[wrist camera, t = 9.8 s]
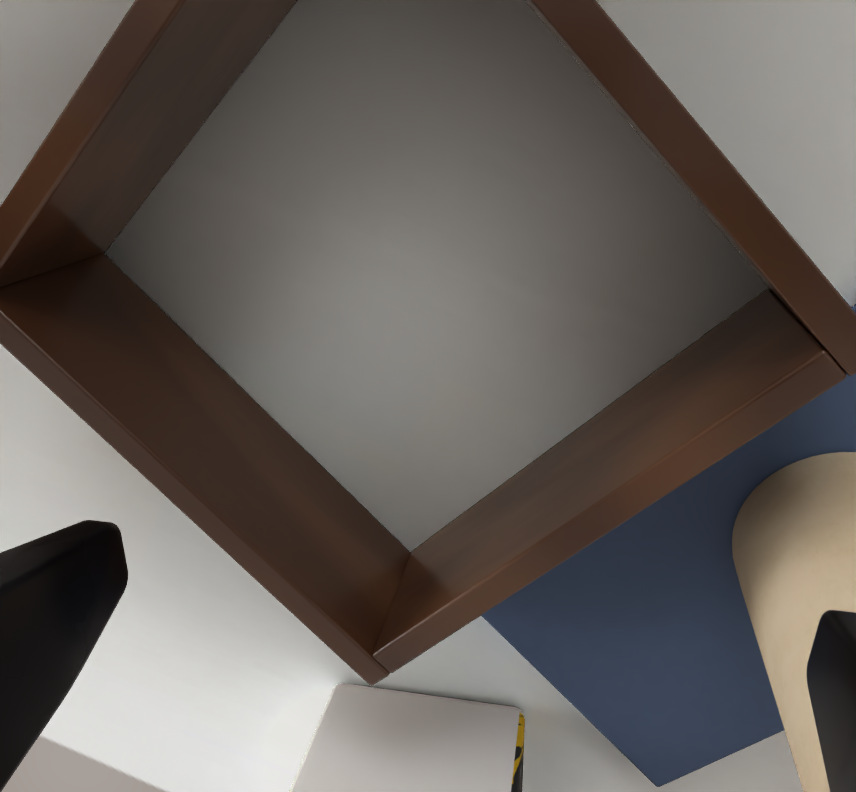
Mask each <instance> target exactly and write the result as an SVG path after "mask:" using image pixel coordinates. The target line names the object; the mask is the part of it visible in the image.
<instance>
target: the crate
mask: <svg viewBox="0 0 856 792" xmlns="http://www.w3.org/2000/svg"><path fill="white" fill-rule="evenodd" d="M296 1H297V0H135V1H134V3H133V5H132V6H131V8H130V9H129V11H128V12H127V14H126V15H125V17H124V18H123V20H122V21H121V23H120V24H119V26H118V28H117V29H116V31H115V32H114V34H113V35H112V37H111V38H110V40H109V41H108V43H107V44H106V46H105V47H104V49H103V51H102V52H101V54H100V55H99V57H98V58H97V60H96V61H95V63H94V64H93V66H92V67H91V69H90V70H89V72H88V74H87V75H86V77H85V78H84V80H83V81H82V83H81V84H80V86H79V87H78V89H77V90H76V92H75V93H74V95H73V97H72V98H71V100H70V101H69V103H68V104H67V106H66V107H65V109H64V110H63V112H62V113H61V115H60V116H59V118H58V120H57V121H56V123H55V124H54V126H53V127H52V129H51V130H50V132H49V133H48V135H47V136H46V138H45V139H44V141H43V143H42V144H41V146H40V147H39V149H38V150H37V152H36V153H35V155H34V156H33V158H32V159H31V161H30V162H29V164H28V166H27V167H26V169H25V170H24V172H23V173H22V175H21V176H20V178H19V179H18V181H17V182H16V184H15V185H14V187H13V188H12V190H11V192H10V193H9V195H8V196H7V198H6V199H5V201H4V202H3V204H2V205H1V207H0V344H1V345H3V346H4V347H5V348H6V349H7V350H8V351H9V352H10V353H11V354H12V355H13V356H14V357H16V358H17V359H18V360H19V361H20V362H21V363H22V364H23V365H24V366H25V367H26V368H27V369H29V370H30V371H31V372H32V373H33V374H34V375H35V376H36V377H37V378H38V379H39V380H40V381H42V382H43V383H44V384H45V385H46V386H47V387H48V388H49V389H50V390H51V391H52V392H53V393H54V394H56V395H57V396H58V397H59V398H60V399H61V400H62V401H63V402H64V403H65V404H66V405H67V406H69V407H70V408H71V409H72V410H73V411H74V412H75V413H76V414H77V415H78V416H79V417H80V418H82V419H83V420H84V421H85V422H86V423H87V424H88V425H89V426H90V427H91V428H92V429H93V430H95V431H96V432H97V433H98V434H99V435H100V436H101V437H102V438H103V439H104V440H105V441H106V442H107V443H109V444H110V445H111V446H112V447H113V448H114V449H115V450H116V451H117V452H118V453H119V454H120V455H122V456H123V457H124V458H125V459H126V460H127V461H128V462H129V463H130V464H131V465H132V466H133V467H135V468H136V469H137V470H138V471H139V472H140V473H141V474H142V475H143V476H144V477H145V478H146V479H148V480H149V481H150V482H151V483H152V484H153V485H154V486H155V487H156V488H157V489H158V490H159V491H160V492H162V493H163V494H164V495H165V496H166V497H167V498H168V499H169V500H170V501H171V502H172V503H173V504H175V505H176V506H177V507H178V508H179V509H180V510H181V511H182V512H183V513H184V514H185V515H186V516H188V517H189V518H190V519H191V520H192V521H193V522H194V523H195V524H196V525H197V526H198V527H199V528H201V529H202V530H203V531H204V532H205V533H206V534H207V535H208V536H209V537H210V538H211V539H212V540H213V541H215V542H216V543H217V544H218V545H219V546H220V547H221V548H222V549H223V550H224V551H225V552H226V553H228V554H229V555H230V556H231V557H232V558H233V559H234V560H235V561H236V562H237V563H238V564H239V565H241V566H242V567H243V568H244V569H245V570H246V571H247V572H248V573H249V574H250V575H251V576H252V577H254V578H255V579H256V580H257V581H258V582H259V583H260V584H261V585H262V586H263V587H264V588H265V589H266V590H268V591H269V592H270V593H271V594H272V595H273V596H274V597H275V598H276V599H277V600H278V601H279V602H281V603H282V604H283V605H284V606H285V607H286V608H287V609H288V610H289V611H290V612H291V613H292V614H294V615H295V616H296V617H297V618H298V619H299V620H300V621H301V622H302V623H303V624H304V625H305V626H307V627H308V628H309V629H310V630H311V631H312V632H313V633H314V634H315V635H316V636H317V637H318V638H319V639H321V640H322V641H323V642H324V643H325V644H326V645H327V646H328V647H329V648H330V649H331V650H332V651H334V652H335V653H336V654H337V655H338V656H339V657H340V658H341V659H342V660H343V661H344V662H345V663H347V664H348V665H349V666H350V667H351V668H352V669H353V670H354V671H355V672H356V673H357V674H358V675H360V676H361V677H362V678H363V679H364V680H365V681H366V682H367V683H368V684H369V685H371V686H372V685H374V684H376V683H378V682H379V681H381V680H382V679H384V678H385V677H387V676H388V675H389V674H390V673H393V672H394V671H396V670H398V669H399V668H401V667H402V666H404V665H405V664H407V663H408V662H410V661H411V660H413V659H415V658H416V657H418V656H419V655H421V654H422V653H424V652H425V651H427V650H428V649H430V648H431V647H433V646H435V645H436V644H438V643H439V642H441V641H442V640H444V639H445V638H447V637H448V636H450V635H451V634H453V633H455V632H456V631H458V630H459V629H461V628H462V627H464V626H465V625H467V624H468V623H470V622H471V621H473V620H475V619H476V618H478V617H479V616H481V615H482V614H484V613H485V612H487V611H488V610H490V609H491V608H493V607H495V606H496V605H498V604H499V603H501V602H502V601H504V600H505V599H507V598H508V597H510V596H512V595H513V594H515V593H516V592H518V591H519V590H521V589H522V588H524V587H525V586H527V585H528V584H530V583H532V582H533V581H535V580H536V579H538V578H539V577H541V576H542V575H544V574H545V573H547V572H548V571H550V570H552V569H553V568H555V567H556V566H558V565H559V564H561V563H562V562H564V561H565V560H567V559H568V558H570V557H572V556H573V555H575V554H576V553H578V552H579V551H581V550H582V549H584V548H585V547H587V546H589V545H590V544H592V543H593V542H595V541H596V540H598V539H599V538H601V537H602V536H604V535H605V534H607V533H609V532H610V531H612V530H613V529H615V528H616V527H618V526H619V525H621V524H622V523H624V522H625V521H627V520H629V519H630V518H632V517H633V516H635V515H636V514H638V513H639V512H641V511H642V510H644V509H645V508H647V507H649V506H650V505H652V504H653V503H655V502H656V501H658V500H659V499H661V498H662V497H664V496H666V495H667V494H669V493H670V492H672V491H673V490H675V489H676V488H678V487H679V486H681V485H682V484H684V483H686V482H687V481H689V480H690V479H692V478H693V477H695V476H696V475H698V474H699V473H701V472H702V471H704V470H706V469H707V468H709V467H710V466H712V465H713V464H715V463H716V462H718V461H719V460H721V459H722V458H724V457H726V456H727V455H729V454H730V453H732V452H733V451H735V450H736V449H738V448H739V447H741V446H742V445H744V444H746V443H747V442H749V441H750V440H752V439H753V438H755V437H756V436H758V435H759V434H761V433H763V432H764V431H766V430H767V429H769V428H770V427H772V426H773V425H775V424H776V423H778V422H779V421H781V420H783V419H784V418H786V417H787V416H789V415H790V414H792V413H793V412H795V411H796V410H798V409H799V408H801V407H803V406H804V405H806V404H807V403H809V402H810V401H812V400H813V399H815V398H816V397H818V396H819V395H821V394H823V393H824V392H826V391H827V390H829V389H830V388H832V387H833V386H835V385H836V384H838V383H840V382H841V381H843V380H844V379H845V378H846V377H847V376H846V373H847V375H849V376H852V375H854V374H855V373H856V313H855V312H854V311H853V309H852V308H851V307H850V306H849V305H848V303H847V302H846V301H845V300H844V299H843V297H842V296H841V295H840V294H839V293H838V291H837V290H836V289H835V288H834V287H833V285H832V284H831V283H830V282H829V281H828V279H827V278H826V277H825V276H824V275H823V273H822V272H821V271H820V270H819V269H818V267H817V266H816V265H815V264H814V262H813V261H812V260H811V259H810V258H809V256H808V255H807V254H806V253H805V252H804V250H803V249H802V248H801V247H800V246H799V244H798V243H797V242H796V241H795V240H794V238H793V237H792V236H791V235H790V234H789V232H788V231H787V230H786V229H785V228H784V226H783V225H782V224H781V223H780V222H779V220H778V219H777V218H776V217H775V216H774V214H773V213H772V212H771V211H770V210H769V208H768V207H767V206H766V205H765V204H764V202H763V201H762V200H761V199H760V198H759V196H758V195H757V194H756V193H755V192H754V190H753V189H752V188H751V187H750V185H749V184H748V183H747V182H746V181H745V179H744V178H743V177H742V176H741V175H740V173H739V172H738V171H737V170H736V169H735V167H734V166H733V165H732V164H731V163H730V161H729V160H728V159H727V158H726V157H725V155H724V154H723V153H722V152H721V151H720V149H719V148H718V147H717V146H716V145H715V143H714V142H713V141H712V140H711V139H710V137H709V136H708V135H707V134H706V133H705V131H704V130H703V129H702V128H701V127H700V125H699V124H698V123H697V122H696V121H695V119H694V118H693V117H692V116H691V115H690V113H689V112H688V111H687V110H686V108H685V107H684V106H683V105H682V104H681V102H680V101H679V100H678V99H677V98H676V96H675V95H674V94H673V93H672V92H671V90H670V89H669V88H668V87H667V86H666V84H665V83H664V82H663V81H662V80H661V78H660V77H659V76H658V75H657V74H656V72H655V71H654V70H653V69H652V68H651V66H650V65H649V64H648V63H647V62H646V60H645V59H644V58H643V57H642V56H641V54H640V53H639V52H638V51H637V50H636V48H635V47H634V46H633V45H632V44H631V42H630V41H629V40H628V39H627V37H626V36H625V35H624V34H623V33H622V31H621V30H620V29H619V28H618V27H617V25H616V24H615V23H614V22H613V21H612V19H611V18H610V17H609V16H608V15H607V13H606V12H605V11H604V10H603V9H602V7H601V6H600V5H599V4H598V3H597V1H596V0H525V1H526V2H527V3H528V5H529V6H530V7H531V8H532V9H533V10H534V12H535V13H536V14H537V15H538V16H539V18H540V19H541V20H542V21H543V22H544V23H545V25H546V26H547V27H548V28H549V29H550V30H551V32H552V33H553V34H554V35H555V36H556V38H557V39H558V40H559V41H560V42H561V43H562V45H563V46H564V47H565V48H566V49H567V50H568V52H569V53H570V54H571V55H572V56H573V58H574V59H575V60H576V61H577V62H578V63H579V65H580V66H581V67H582V68H583V69H584V71H585V72H586V73H587V74H588V75H589V76H590V78H591V79H592V80H593V81H594V82H595V83H596V85H597V86H598V87H599V88H600V89H601V91H602V92H603V93H604V94H605V95H606V96H607V98H608V99H609V100H610V101H611V102H612V103H613V105H614V106H615V107H616V108H617V109H618V111H619V112H620V113H621V114H622V115H623V116H624V118H625V119H626V120H627V121H628V122H629V123H630V125H631V126H632V127H633V128H634V129H635V131H636V132H637V133H638V134H639V135H640V136H641V138H642V139H643V140H644V141H645V142H646V143H647V145H648V146H649V147H650V148H651V149H652V151H653V152H654V153H655V154H656V155H657V156H658V158H659V159H660V160H661V161H662V162H663V164H664V165H665V166H666V167H667V168H668V169H669V171H670V172H671V173H672V174H673V175H674V176H675V178H676V179H677V180H678V181H679V182H680V184H681V185H682V186H683V187H684V188H685V189H686V191H687V192H688V193H689V194H690V195H691V196H692V198H693V199H694V200H695V201H696V202H697V204H698V205H699V206H700V207H701V208H702V209H703V211H704V212H705V213H706V214H707V215H708V216H709V218H710V219H711V220H712V221H713V222H714V224H715V225H716V226H717V227H718V228H719V229H720V231H721V232H722V233H723V234H724V235H725V236H726V238H727V239H728V240H729V241H730V242H731V244H732V245H733V246H734V247H735V248H736V249H737V251H738V252H739V253H740V254H741V255H742V256H743V258H744V259H745V260H746V261H747V262H748V264H749V265H750V266H751V267H752V268H753V269H754V271H755V272H756V273H757V274H758V275H759V277H760V278H761V279H762V280H763V281H764V282H765V284H766V285H767V286H768V287H769V288H770V289H771V290H770V289H767V290H765V291H764V292H762V293H761V294H759V295H758V296H757V297H755V298H754V299H753V300H751V301H750V302H749V303H747V304H746V305H745V306H743V307H742V308H740V309H739V310H738V311H736V312H735V313H734V314H732V315H731V316H730V317H728V318H727V319H726V320H724V321H723V322H722V323H720V324H719V325H717V326H716V327H715V328H713V329H712V330H711V331H709V332H708V333H707V334H705V335H704V336H703V337H701V338H700V339H699V340H697V341H696V342H694V343H693V344H692V345H690V346H689V347H688V348H686V349H685V350H684V351H682V352H681V353H680V354H678V355H677V356H675V357H674V358H673V359H671V360H670V361H669V362H667V363H666V364H665V365H663V366H662V367H661V368H659V369H658V370H657V371H655V372H654V373H652V374H651V375H650V376H648V377H647V378H646V379H644V380H643V381H642V382H640V383H639V384H638V385H636V386H635V387H633V388H632V389H631V390H629V391H628V392H627V393H625V394H624V395H623V396H621V397H620V398H619V399H617V400H616V401H615V402H613V403H612V404H610V405H609V406H608V407H606V408H605V409H604V410H602V411H601V412H600V413H598V414H597V415H596V416H594V417H593V418H592V419H590V420H589V421H587V422H586V423H585V424H583V425H582V426H581V427H579V428H578V429H577V430H575V431H574V432H573V433H571V434H570V435H568V436H567V437H566V438H564V439H563V440H562V441H560V442H559V443H558V444H556V445H555V446H554V447H552V448H551V449H550V450H548V451H547V452H545V453H544V454H543V455H541V456H540V457H539V458H537V459H536V460H535V461H533V462H532V463H531V464H529V465H528V466H526V467H525V468H524V469H522V470H521V471H520V472H518V473H517V474H516V475H514V476H513V477H512V478H510V479H509V480H508V481H506V482H505V483H503V484H502V485H501V486H499V487H498V488H497V489H495V490H494V491H493V492H491V493H490V494H489V495H487V496H486V497H485V498H483V499H482V500H480V501H479V502H478V503H476V504H475V505H474V506H472V507H471V508H470V509H468V510H467V511H466V512H464V513H463V514H461V515H460V516H459V517H457V518H456V519H455V520H453V521H452V522H451V523H449V524H448V525H447V526H445V527H444V528H443V529H441V530H440V531H438V532H437V533H436V534H434V535H433V536H432V537H430V538H429V539H428V540H426V541H425V542H424V543H422V544H421V545H419V546H418V547H417V548H415V549H414V550H413V551H412V552H411V553H410V552H409V551H408V550H407V549H406V548H405V547H404V546H403V545H402V544H401V543H400V542H399V541H398V540H397V539H396V538H395V537H394V536H393V535H392V534H391V533H390V532H389V531H388V530H387V529H386V528H385V527H384V526H383V525H382V524H381V523H380V522H379V521H378V520H377V519H375V518H374V517H373V516H372V515H371V514H370V513H369V512H368V511H367V510H366V509H365V508H364V507H363V506H362V505H361V504H360V503H359V502H358V501H357V500H356V499H355V498H354V497H353V496H352V495H351V494H350V493H349V492H348V491H347V490H346V489H345V488H344V487H343V486H342V485H341V484H340V483H339V482H338V481H336V480H335V479H334V478H333V477H332V476H331V475H330V474H329V473H328V472H327V471H326V470H325V469H324V468H323V467H322V466H321V465H320V464H319V463H318V462H317V461H316V460H315V459H314V458H313V457H312V456H311V455H310V454H309V453H308V452H307V451H306V450H305V449H304V448H303V447H302V446H301V445H300V444H299V443H298V442H296V441H295V440H294V439H293V438H292V437H291V436H290V435H289V434H288V433H287V432H286V431H285V430H284V429H283V428H282V427H281V426H280V425H279V424H278V423H277V422H276V421H275V420H274V419H273V418H272V417H271V416H270V415H269V414H268V413H267V412H266V411H265V410H264V409H263V408H262V407H261V406H260V405H259V404H257V403H256V402H255V401H254V400H253V399H252V398H251V397H250V396H249V395H248V394H247V393H246V392H245V391H244V390H243V389H242V388H241V387H240V386H239V385H238V384H237V383H236V382H235V381H234V380H233V379H232V378H231V377H230V376H229V375H228V374H227V373H226V372H225V371H224V370H223V369H222V368H221V367H220V366H219V365H217V364H216V363H215V362H214V361H213V360H212V359H211V358H210V357H209V356H208V355H207V354H206V353H205V352H204V351H203V350H202V349H201V348H200V347H199V346H198V345H197V344H196V343H195V342H194V341H193V340H192V339H191V338H190V337H189V336H188V335H187V334H186V333H185V332H184V331H183V330H182V329H181V328H180V327H178V326H177V325H176V324H175V323H174V322H173V321H172V320H171V319H170V318H169V317H168V316H167V315H166V314H165V313H164V312H163V311H162V310H161V309H160V308H159V307H158V306H157V305H156V304H155V303H154V302H153V301H152V300H151V299H150V298H149V297H148V296H147V295H146V294H145V293H144V292H143V291H142V290H141V289H140V288H138V287H137V286H136V285H135V284H134V283H133V282H132V281H131V280H130V279H129V278H128V277H127V276H126V275H125V274H124V273H123V272H122V271H121V270H120V269H119V268H118V267H117V266H116V265H115V264H114V263H113V262H112V261H111V260H110V259H109V258H108V257H107V256H106V255H105V254H104V252H105V251H106V250H107V249H108V247H109V246H110V245H111V243H112V242H113V241H114V240H115V238H116V237H117V236H118V234H119V233H120V232H121V230H122V229H123V228H124V226H125V225H126V224H127V222H128V221H129V220H130V219H131V217H132V216H133V215H134V213H135V212H136V211H137V209H138V208H139V207H140V205H141V204H142V203H143V202H144V200H145V199H146V198H147V196H148V195H149V194H150V192H151V191H152V190H153V188H154V187H155V186H156V185H157V183H158V182H159V181H160V179H161V178H162V177H163V175H164V174H165V173H166V171H167V170H168V169H169V167H170V166H171V165H172V164H173V162H174V161H175V160H176V158H177V157H178V156H179V154H180V153H181V152H182V150H183V149H184V148H185V147H186V145H187V144H188V143H189V141H190V140H191V139H192V137H193V136H194V135H195V133H196V132H197V131H198V130H199V128H200V127H201V126H202V124H203V123H204V122H205V120H206V119H207V118H208V116H209V115H210V114H211V112H212V111H213V110H214V109H215V107H216V106H217V105H218V103H219V102H220V101H221V99H222V98H223V97H224V95H225V94H226V93H227V92H228V90H229V89H230V88H231V86H232V85H233V84H234V82H235V81H236V80H237V78H238V77H239V76H240V74H241V73H242V72H243V71H244V69H245V68H246V67H247V65H248V64H249V63H250V61H251V60H252V59H253V57H254V56H255V55H256V54H257V52H258V51H259V50H260V48H261V47H262V46H263V44H264V43H265V42H266V40H267V39H268V38H269V37H270V35H271V34H272V33H273V31H274V30H275V29H276V27H277V26H278V25H279V23H280V22H281V21H282V19H283V18H284V17H285V16H286V14H287V13H288V12H289V10H290V9H291V8H292V6H293V5H294V4H295V2H296Z"/></svg>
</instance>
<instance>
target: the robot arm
mask: <svg viewBox="0 0 856 792" xmlns="http://www.w3.org/2000/svg"><path fill="white" fill-rule="evenodd" d="M127 581H128V570H127V564H126V559H125V553H124V548H123V542H122V537H121V532H120V530H119V528H118V527H117V525H115V524H113V523H110V522H102V521H94V520H86V521H82V522H80V523H77V524H74V525H72V526H69V527H67V528H64V529H61V530H59V531H56V532H54V533H51V534H48V535H46V536H43V537H41V538H38V539H35V540H33V541H30V542H28V543H25V544H22V545H20V546H17V547H15V548H12V549H9V550H7V551H4V552H2V553H0V792H1V791H2V790H3V788H4V787H5V785H6V784H7V782H8V780H9V779H10V778H11V776H12V775H13V773H14V772H15V770H16V769H17V767H18V766H19V765H20V763H21V762H22V760H23V759H24V757H25V756H26V754H27V753H28V751H29V750H30V748H31V747H32V745H33V744H34V742H35V741H36V740H37V738H38V737H39V735H40V734H41V732H42V731H43V729H44V728H45V726H46V725H47V723H48V722H49V720H50V719H51V717H52V716H53V715H54V713H55V712H56V710H57V709H58V707H59V706H60V704H61V703H62V701H63V700H64V698H65V696H66V695H67V693H68V692H69V690H70V689H71V687H72V685H73V684H74V682H75V680H76V678H77V677H78V675H79V673H80V672H81V670H82V668H83V666H84V664H85V662H86V661H87V659H88V657H89V655H90V653H91V652H92V650H93V648H94V646H95V644H96V642H97V641H98V639H99V637H100V635H101V633H102V631H103V630H104V628H105V626H106V624H107V622H108V620H109V619H110V617H111V615H112V613H113V611H114V609H115V608H116V606H117V604H118V602H119V600H120V598H121V597H122V595H123V593H124V591H125V588H126V585H127ZM806 676H807V685H808V690H809V695H810V700H811V704H812V709H813V714H814V718H815V723H816V728H817V733H818V737H819V742H820V747H821V751H822V756H823V761H824V766H825V770H826V775H827V780H828V784H829V789H830V792H856V613H855V612H847V611H838V610H828V611H826V612H824V613H823V615H822V616H821V618H820V621H819V624H818V628H817V631H816V635H815V638H814V642H813V645H812V649H811V652H810V656H809V659H808V663H807V675H806Z"/></svg>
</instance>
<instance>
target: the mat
mask: <svg viewBox="0 0 856 792" xmlns="http://www.w3.org/2000/svg"><path fill="white" fill-rule="evenodd" d="M852 309H853V311H854V312H855V313H856V305H855V306H854V307H852ZM846 376H847V377H846V378H845V379H844V380H843V381H841V382H840V383H838V384H836V385H835V386H833V387H832V388H830V389H829V390H827V391H826V392H824V393H823V394H821V395H819V396H818V397H816V398H815V399H813V400H812V401H810V402H809V403H807V404H806V405H804V406H803V407H801V408H799V409H798V410H796V411H795V412H793V413H792V414H790V415H789V416H787V417H786V418H784V419H783V420H781V421H779V422H778V423H776V424H775V425H773V426H772V427H770V428H769V429H767V430H766V431H764V432H763V433H761V434H759V435H758V436H756V437H755V438H753V439H752V440H750V441H749V442H747V443H746V444H744V445H742V446H741V447H739V448H738V449H736V450H735V451H733V452H732V453H730V454H729V455H727V456H726V457H724V458H722V459H721V460H719V461H718V462H716V463H715V464H713V465H712V466H710V467H709V468H707V469H706V470H704V471H702V472H701V473H699V474H698V475H696V476H695V477H693V478H692V479H690V480H689V481H687V482H686V483H684V484H682V485H681V486H679V487H678V488H676V489H675V490H673V491H672V492H670V493H669V494H667V495H666V496H664V497H662V498H661V499H659V500H658V501H656V502H655V503H653V504H652V505H650V506H649V507H647V508H645V509H644V510H642V511H641V512H639V513H638V514H636V515H635V516H633V517H632V518H630V519H629V520H627V521H625V522H624V523H622V524H621V525H619V526H618V527H616V528H615V529H613V530H612V531H610V532H609V533H607V534H605V535H604V536H602V537H601V538H599V539H598V540H596V541H595V542H593V543H592V544H590V545H589V546H587V547H585V548H584V549H582V550H581V551H579V552H578V553H576V554H575V555H573V556H572V557H570V558H568V559H567V560H565V561H564V562H562V563H561V564H559V565H558V566H556V567H555V568H553V569H552V570H550V571H548V572H547V573H545V574H544V575H542V576H541V577H539V578H538V579H536V580H535V581H533V582H532V583H530V584H528V585H527V586H525V587H524V588H522V589H521V590H519V591H518V592H516V593H515V594H513V595H512V596H510V597H508V598H507V599H505V600H504V601H502V602H501V603H499V604H498V605H496V606H495V607H493V608H491V609H490V610H488V611H487V612H485V613H484V614H482V615H481V616H482V617H483V618H484V619H485V620H487V621H488V622H489V623H490V624H491V625H492V626H493V627H494V628H495V629H496V630H497V631H498V632H499V633H500V634H501V635H502V636H503V637H504V638H505V639H506V640H507V641H508V642H509V643H510V644H511V645H512V646H513V647H514V648H515V649H516V650H517V651H518V652H519V653H520V654H521V655H522V656H523V657H524V658H525V659H526V660H527V661H529V662H530V663H531V664H532V665H533V666H534V667H535V668H536V669H537V670H538V671H539V672H540V673H541V674H542V675H543V676H544V677H545V678H546V679H547V680H548V681H549V682H550V683H551V684H552V685H553V686H554V687H555V688H556V689H557V690H558V691H559V692H560V693H561V694H562V695H563V696H564V697H565V698H566V699H567V700H568V701H569V702H570V703H572V704H573V705H574V706H575V707H576V708H577V709H578V710H579V711H580V712H581V713H582V714H583V715H584V716H585V717H586V718H587V719H588V720H589V721H590V722H591V723H592V724H593V725H594V726H595V727H596V728H597V729H598V730H599V731H600V732H601V733H602V734H603V735H604V736H605V737H606V738H607V739H608V740H609V741H610V742H611V743H612V744H613V745H615V746H616V747H617V748H618V749H619V750H620V751H621V752H622V753H623V754H624V755H625V756H626V757H627V758H628V759H629V760H630V761H631V762H632V763H633V764H634V765H635V766H636V767H637V768H638V769H639V770H640V771H641V772H642V773H643V774H644V775H645V776H646V777H647V778H648V779H649V780H650V781H651V782H652V783H653V784H654V785H655V786H657V787H660V786H662V785H664V784H667V783H669V782H671V781H673V780H675V779H678V778H680V777H682V776H684V775H686V774H689V773H691V772H693V771H695V770H697V769H700V768H702V767H704V766H706V765H708V764H711V763H713V762H715V761H717V760H719V759H722V758H724V757H726V756H728V755H730V754H733V753H735V752H737V751H739V750H741V749H744V748H746V747H748V746H750V745H752V744H755V743H757V742H759V741H761V740H763V739H766V738H768V737H770V736H772V735H774V734H777V733H779V732H781V731H783V730H785V729H784V726H783V723H782V720H781V716H780V713H779V710H778V707H777V703H776V700H775V697H774V694H773V690H772V687H771V684H770V681H769V677H768V674H767V671H766V668H765V664H764V661H763V658H762V655H761V651H760V648H759V645H758V642H757V638H756V635H755V632H754V629H753V625H752V622H751V619H750V616H749V612H748V609H747V606H746V603H745V599H744V596H743V593H742V590H741V587H740V583H739V579H738V575H737V572H736V568H735V564H734V560H733V552H732V535H733V528H734V524H735V520H736V517H737V515H738V513H739V510H740V508H741V507H742V505H743V503H744V502H745V500H746V499H747V498H748V496H749V495H750V494H751V493H752V491H753V490H754V489H755V488H756V487H757V486H758V485H759V484H760V483H762V482H763V481H764V480H765V479H767V478H768V477H769V476H771V475H772V474H773V473H775V472H777V471H778V470H780V469H782V468H784V467H785V466H788V465H790V464H792V463H795V462H797V461H799V460H802V459H806V458H809V457H812V456H817V455H822V454H827V453H837V452H856V373H855V374H854V375H852V376H849V375H847V373H846Z"/></svg>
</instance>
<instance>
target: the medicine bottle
mask: <svg viewBox="0 0 856 792" xmlns="http://www.w3.org/2000/svg"><path fill="white" fill-rule="evenodd" d="M524 727H525V719H524V714H523V712H522V711H521V710H520V709H519V708H516V707H511V706H503V705H496V704H489V703H482V702H475V701H467V700H460V699H453V698H446V697H439V696H431V695H424V694H417V693H410V692H403V691H395V690H388V689H381V688H374V687H367V686H359V685H352V684H345V683H339V684H337V685H336V686H335V687H334V688H333V689H332V692H331V694H330V696H329V699H328V701H327V704H326V706H325V708H324V711H323V713H322V715H321V718H320V720H319V722H318V725H317V727H316V729H315V732H314V734H313V736H312V739H311V741H310V743H309V746H308V748H307V750H306V753H305V755H304V757H303V760H302V762H301V765H300V767H299V769H298V772H297V774H296V776H295V779H294V781H293V783H292V786H291V788H290V790H289V792H522V779H523V753H524Z"/></svg>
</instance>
